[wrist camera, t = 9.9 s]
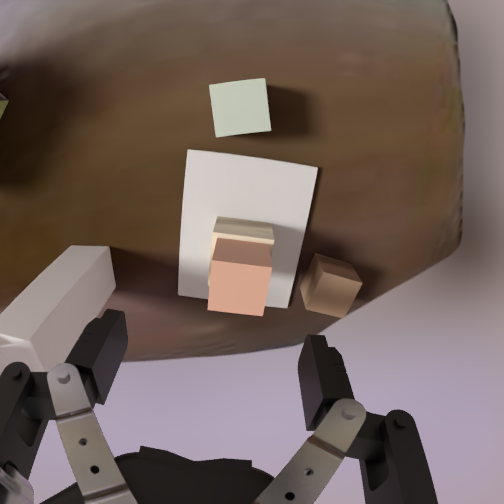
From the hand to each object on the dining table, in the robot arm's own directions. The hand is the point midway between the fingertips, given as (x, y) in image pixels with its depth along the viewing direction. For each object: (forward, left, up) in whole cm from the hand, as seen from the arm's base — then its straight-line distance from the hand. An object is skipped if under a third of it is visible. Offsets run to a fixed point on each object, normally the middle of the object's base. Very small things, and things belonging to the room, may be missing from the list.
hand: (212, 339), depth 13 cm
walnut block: (+8, +12, -24) cm, 28 cm away
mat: (+4, +1, -23) cm, 24 cm away
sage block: (-10, -1, -24) cm, 26 cm away
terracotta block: (+5, +1, -18) cm, 19 cm away
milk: (+11, -18, -24) cm, 31 cm away
